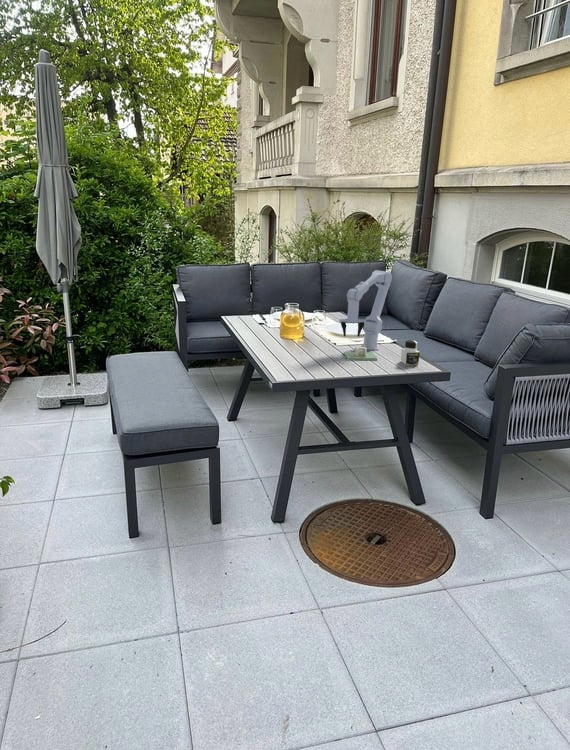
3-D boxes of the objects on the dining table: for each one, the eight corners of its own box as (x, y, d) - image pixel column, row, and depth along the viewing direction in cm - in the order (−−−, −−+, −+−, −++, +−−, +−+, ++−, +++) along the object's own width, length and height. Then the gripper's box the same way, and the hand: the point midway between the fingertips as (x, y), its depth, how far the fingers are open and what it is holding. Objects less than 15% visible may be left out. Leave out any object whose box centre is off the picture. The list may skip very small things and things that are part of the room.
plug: (354, 354, 306) (354, 346, 305) (364, 354, 306) (364, 346, 305) (356, 356, 301) (356, 348, 300) (366, 356, 302) (367, 348, 300)
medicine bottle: (405, 365, 292) (407, 342, 289) (400, 361, 299) (402, 339, 295) (418, 365, 294) (420, 342, 290) (412, 361, 300) (415, 339, 297)
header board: (343, 354, 310) (343, 346, 309) (372, 354, 311) (372, 346, 310) (347, 360, 298) (347, 352, 297) (377, 360, 300) (377, 352, 298)
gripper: (341, 312, 300) (339, 337, 304) (368, 313, 301) (366, 338, 305) (338, 310, 306) (337, 334, 310) (365, 310, 308) (363, 334, 312)
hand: (351, 336), depth 308 cm, fingers open, 7 cm apart
